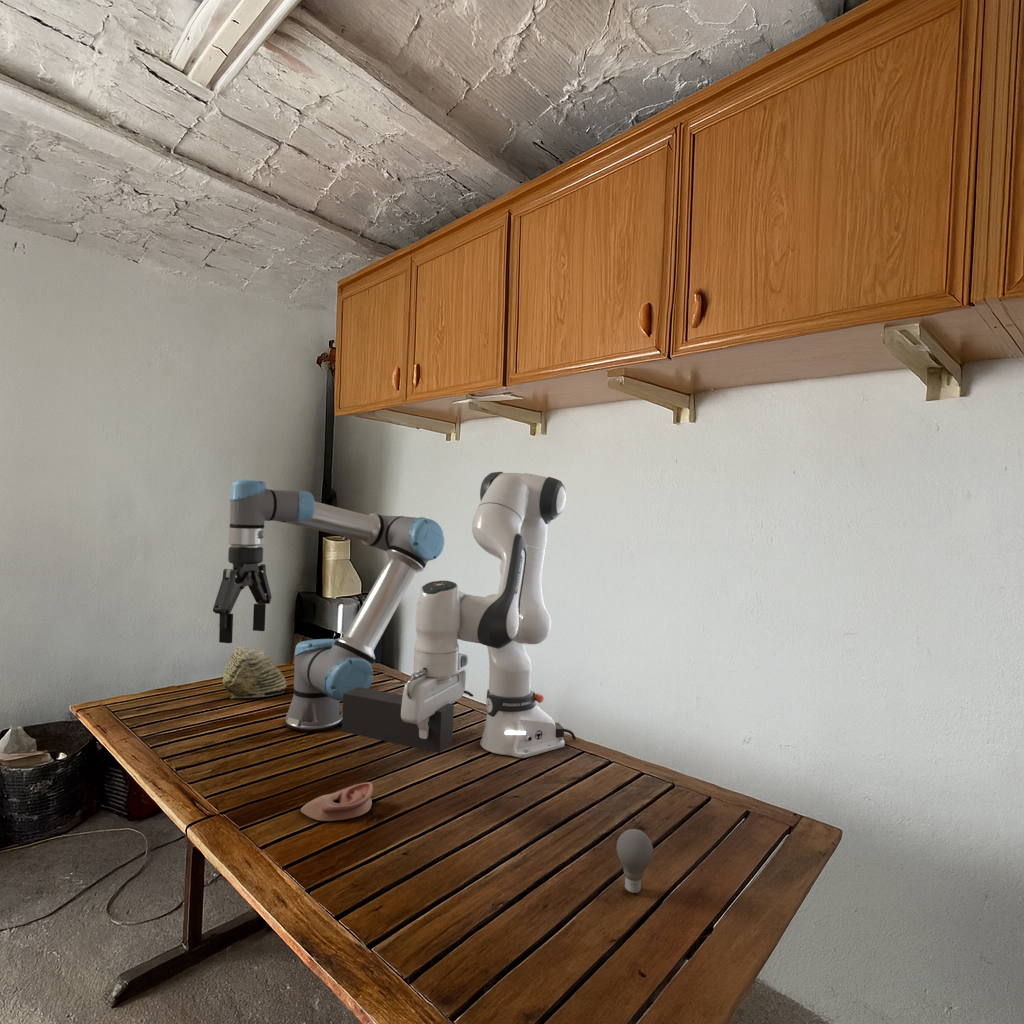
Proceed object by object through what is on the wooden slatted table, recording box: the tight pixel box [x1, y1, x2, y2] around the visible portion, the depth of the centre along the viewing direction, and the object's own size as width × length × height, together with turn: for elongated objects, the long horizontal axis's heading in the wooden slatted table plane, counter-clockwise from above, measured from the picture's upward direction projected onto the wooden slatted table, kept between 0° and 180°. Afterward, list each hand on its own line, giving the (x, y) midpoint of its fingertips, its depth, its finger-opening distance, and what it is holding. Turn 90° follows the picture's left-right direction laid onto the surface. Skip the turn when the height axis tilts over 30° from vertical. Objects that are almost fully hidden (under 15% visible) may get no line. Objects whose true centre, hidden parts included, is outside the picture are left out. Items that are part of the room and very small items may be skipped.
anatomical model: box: [300, 781, 374, 822], centre depth 129 cm, size 13×4×12 cm
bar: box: [341, 687, 455, 754], centre depth 130 cm, size 23×5×8 cm, turn 68°
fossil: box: [222, 646, 288, 699], centre depth 198 cm, size 9×18×15 cm, turn 132°
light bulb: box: [615, 828, 654, 894], centre depth 106 cm, size 6×6×10 cm
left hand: (242, 636), depth 148 cm, fingers open, 13 cm apart
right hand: (433, 731), depth 127 cm, fingers closed on bar, 5 cm apart
